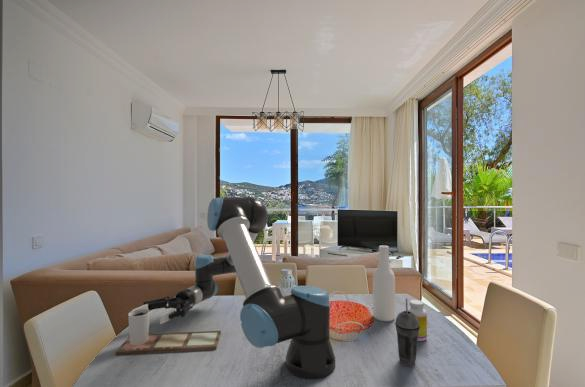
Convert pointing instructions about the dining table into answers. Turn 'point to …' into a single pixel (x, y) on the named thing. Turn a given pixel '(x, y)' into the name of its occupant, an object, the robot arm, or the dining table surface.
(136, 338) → the white coffee cup
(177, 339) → the tile board
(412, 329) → the beverage cup
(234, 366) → the dining table surface
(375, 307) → the white bottle
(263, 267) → the robot arm
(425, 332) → the supplement bottle
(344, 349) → the dining table surface
